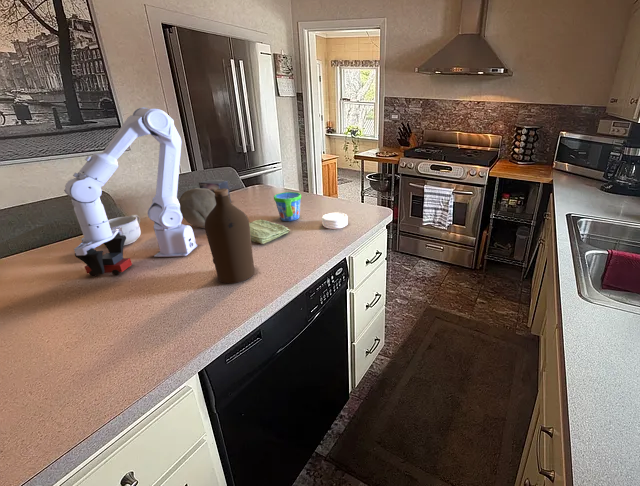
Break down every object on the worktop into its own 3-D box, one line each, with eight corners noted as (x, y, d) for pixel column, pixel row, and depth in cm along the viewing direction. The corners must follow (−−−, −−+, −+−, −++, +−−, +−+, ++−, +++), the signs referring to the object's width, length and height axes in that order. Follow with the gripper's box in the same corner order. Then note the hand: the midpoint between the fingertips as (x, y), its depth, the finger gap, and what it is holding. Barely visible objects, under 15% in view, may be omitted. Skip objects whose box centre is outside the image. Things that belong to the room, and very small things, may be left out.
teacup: (120, 251, 105) (113, 228, 102) (93, 247, 107) (85, 225, 104) (158, 234, 118) (153, 213, 115) (134, 231, 120) (128, 211, 117)
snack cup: (279, 213, 141) (276, 190, 137) (304, 211, 143) (302, 189, 139) (274, 226, 126) (270, 201, 123) (302, 224, 129) (299, 200, 125)
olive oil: (265, 270, 95) (252, 187, 86) (235, 288, 86) (218, 197, 77) (237, 263, 99) (222, 183, 90) (206, 280, 89) (186, 192, 80)
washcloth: (262, 246, 110) (261, 237, 108) (230, 235, 118) (228, 227, 117) (292, 233, 120) (291, 225, 119) (261, 224, 128) (260, 216, 127)
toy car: (133, 266, 95) (128, 251, 94) (122, 275, 91) (117, 259, 89) (99, 268, 94) (94, 252, 93) (86, 276, 90) (80, 260, 88)
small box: (202, 204, 150) (197, 182, 147) (211, 200, 156) (207, 178, 153) (222, 205, 149) (218, 183, 145) (231, 201, 155) (228, 180, 151)
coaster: (336, 231, 123) (335, 222, 122) (317, 225, 128) (316, 217, 126) (353, 223, 131) (352, 215, 130) (334, 218, 136) (334, 210, 134)
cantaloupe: (232, 221, 131) (226, 185, 126) (207, 234, 118) (199, 195, 113) (201, 218, 133) (194, 183, 128) (173, 231, 120) (163, 192, 115)
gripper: (97, 213, 94) (112, 255, 98) (53, 233, 80) (72, 280, 85) (124, 212, 94) (137, 254, 99) (85, 232, 81) (102, 279, 86)
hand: (109, 266), depth 92 cm, fingers open, 7 cm apart
